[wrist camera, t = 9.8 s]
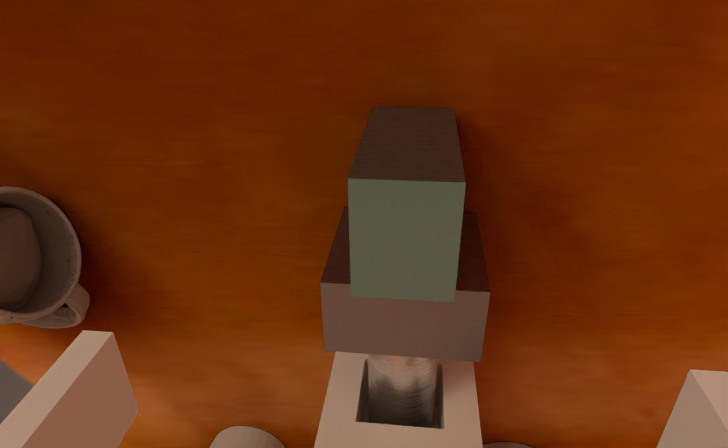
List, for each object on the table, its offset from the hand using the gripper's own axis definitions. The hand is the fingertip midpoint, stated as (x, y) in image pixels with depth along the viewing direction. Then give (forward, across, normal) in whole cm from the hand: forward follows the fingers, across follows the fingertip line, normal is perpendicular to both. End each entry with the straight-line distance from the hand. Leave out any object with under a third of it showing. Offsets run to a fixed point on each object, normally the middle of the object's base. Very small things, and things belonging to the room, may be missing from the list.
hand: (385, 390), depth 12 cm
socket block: (+16, 0, -17) cm, 24 cm away
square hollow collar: (+17, 0, -6) cm, 18 cm away
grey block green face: (+16, 0, -8) cm, 18 cm away
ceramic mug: (+17, -24, -8) cm, 31 cm away
